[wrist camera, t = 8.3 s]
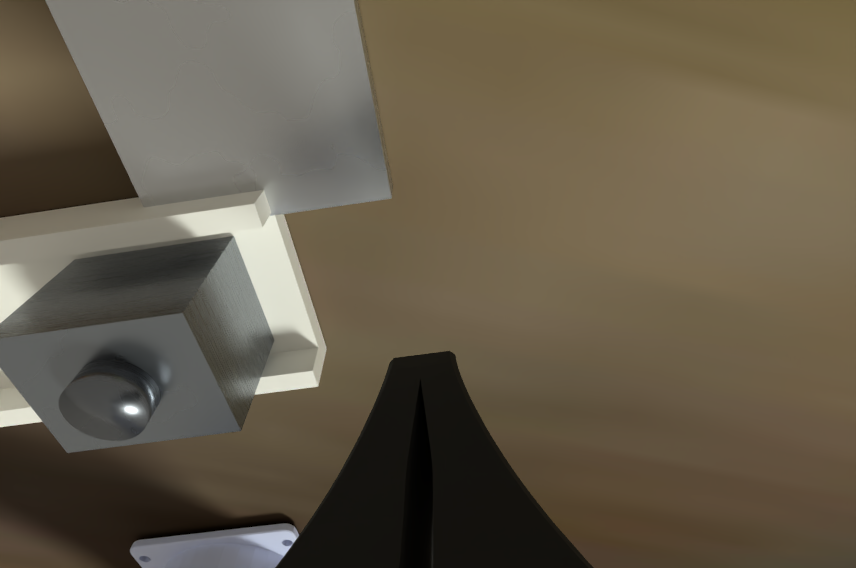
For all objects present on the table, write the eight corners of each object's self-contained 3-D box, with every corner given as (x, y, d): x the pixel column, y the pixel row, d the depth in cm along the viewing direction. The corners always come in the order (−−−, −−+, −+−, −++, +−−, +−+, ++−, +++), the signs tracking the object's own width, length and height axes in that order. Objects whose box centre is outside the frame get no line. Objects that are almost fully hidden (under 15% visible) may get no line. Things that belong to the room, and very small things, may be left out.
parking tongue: (392, 185, 15) (391, 198, 14) (169, 218, 16) (155, 232, 15) (338, -102, 12) (332, -108, 11) (48, -51, 12) (20, -52, 11)
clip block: (274, 339, 17) (232, 454, 13) (134, 359, 17) (49, 477, 13) (233, 235, 15) (168, 334, 11) (74, 259, 15) (-47, 363, 11)
